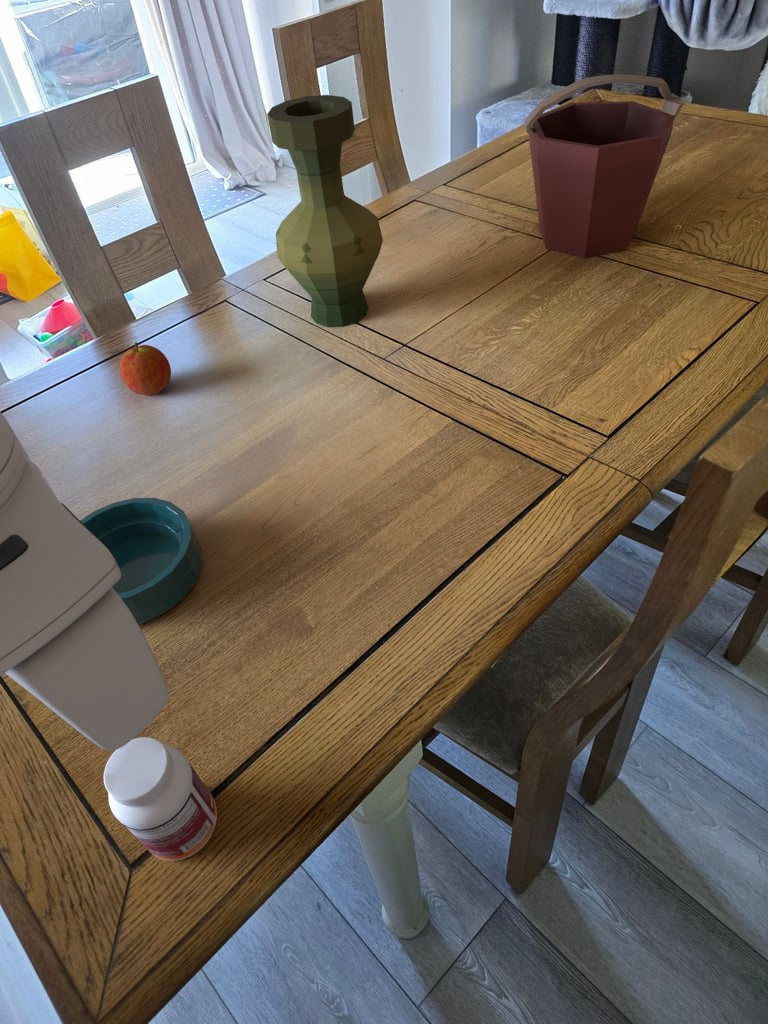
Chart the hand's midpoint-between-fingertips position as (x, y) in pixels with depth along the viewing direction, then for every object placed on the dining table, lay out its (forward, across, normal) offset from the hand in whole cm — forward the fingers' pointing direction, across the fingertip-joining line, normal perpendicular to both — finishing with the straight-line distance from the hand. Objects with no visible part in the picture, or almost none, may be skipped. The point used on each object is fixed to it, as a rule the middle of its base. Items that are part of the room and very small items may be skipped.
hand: (70, 679), depth 41 cm
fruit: (+23, -52, +39) cm, 69 cm away
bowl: (+23, -25, +15) cm, 37 cm away
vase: (+23, -42, +70) cm, 85 cm away
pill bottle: (+23, 0, 0) cm, 23 cm away
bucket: (+23, -19, +112) cm, 116 cm away
